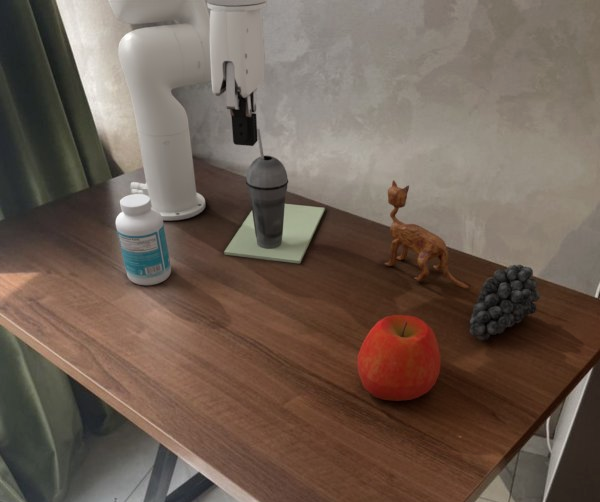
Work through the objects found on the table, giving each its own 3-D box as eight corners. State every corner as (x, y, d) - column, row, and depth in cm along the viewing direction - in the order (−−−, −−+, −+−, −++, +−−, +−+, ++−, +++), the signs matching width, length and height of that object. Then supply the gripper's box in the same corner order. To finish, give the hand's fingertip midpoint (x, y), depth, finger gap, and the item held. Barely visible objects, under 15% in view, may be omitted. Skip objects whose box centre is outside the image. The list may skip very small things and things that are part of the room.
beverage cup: (288, 252, 108) (287, 137, 94) (247, 252, 108) (240, 136, 94) (289, 233, 113) (288, 122, 100) (251, 233, 113) (244, 121, 100)
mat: (224, 254, 108) (223, 251, 108) (258, 203, 124) (258, 200, 124) (299, 263, 106) (299, 260, 106) (324, 210, 122) (324, 207, 121)
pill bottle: (146, 261, 106) (132, 186, 97) (180, 271, 104) (169, 195, 95) (118, 280, 102) (100, 203, 92) (153, 291, 99) (138, 214, 90)
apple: (382, 423, 76) (391, 358, 69) (339, 375, 83) (343, 310, 76) (451, 397, 80) (466, 332, 73) (404, 353, 87) (413, 289, 80)
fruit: (495, 300, 81) (547, 257, 89) (443, 295, 87) (495, 255, 95) (501, 356, 85) (549, 310, 93) (450, 348, 91) (500, 305, 99)
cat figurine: (478, 287, 101) (496, 208, 91) (456, 302, 97) (473, 222, 88) (392, 250, 110) (401, 175, 101) (369, 263, 106) (376, 187, 97)
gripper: (226, -17, 82) (236, 125, 94) (186, 1, 71) (203, 159, 83) (280, -16, 80) (283, 128, 92) (247, 3, 69) (255, 164, 82)
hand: (245, 143), depth 88 cm, fingers closed
